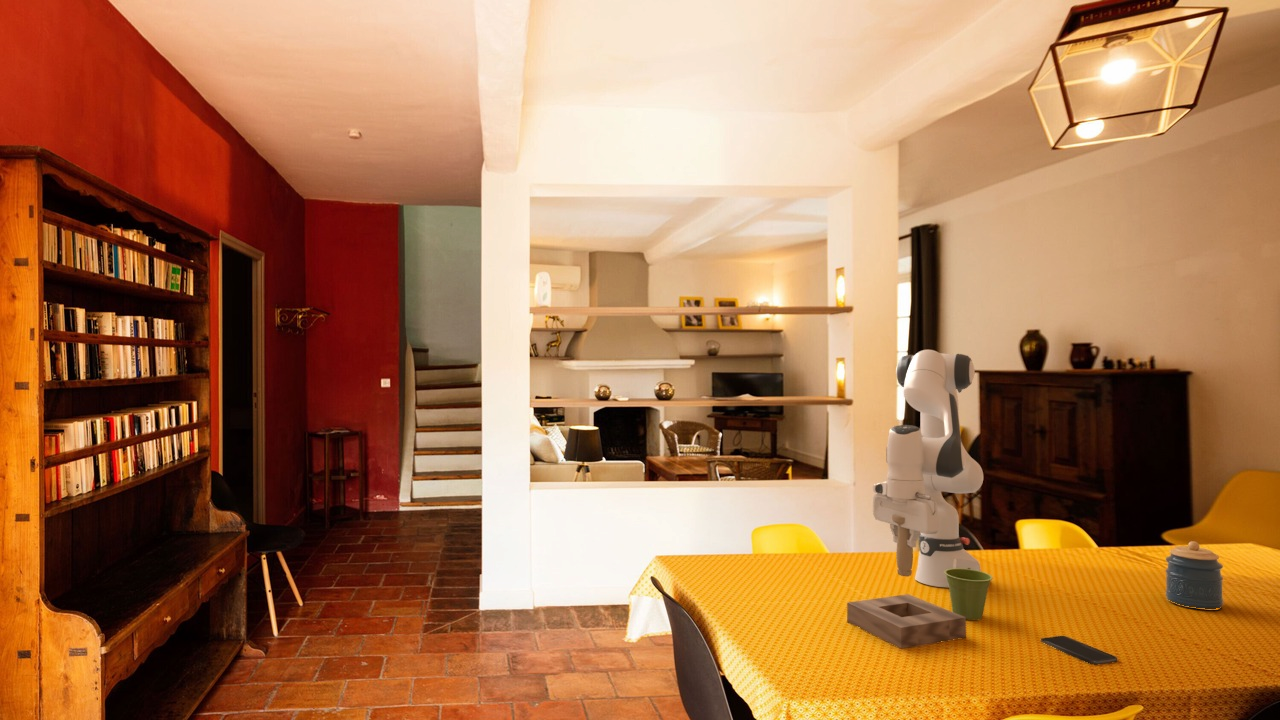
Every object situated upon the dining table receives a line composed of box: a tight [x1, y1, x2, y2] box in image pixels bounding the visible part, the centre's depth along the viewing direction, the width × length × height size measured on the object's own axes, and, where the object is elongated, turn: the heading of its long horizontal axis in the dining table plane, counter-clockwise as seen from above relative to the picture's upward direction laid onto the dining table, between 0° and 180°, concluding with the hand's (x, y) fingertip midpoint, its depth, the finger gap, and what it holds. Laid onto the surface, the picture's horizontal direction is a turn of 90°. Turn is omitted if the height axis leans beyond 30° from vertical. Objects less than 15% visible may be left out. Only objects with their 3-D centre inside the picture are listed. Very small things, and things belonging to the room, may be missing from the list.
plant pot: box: [944, 568, 994, 621], centre depth 198 cm, size 12×12×11 cm
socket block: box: [846, 594, 967, 650], centre depth 187 cm, size 20×20×5 cm
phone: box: [1040, 635, 1118, 666], centre depth 173 cm, size 8×1×15 cm
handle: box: [892, 515, 914, 578], centre depth 187 cm, size 5×6×15 cm
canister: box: [1165, 540, 1224, 609], centre depth 209 cm, size 13×13×18 cm
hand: (904, 544), depth 187 cm, fingers closed on handle, 3 cm apart
